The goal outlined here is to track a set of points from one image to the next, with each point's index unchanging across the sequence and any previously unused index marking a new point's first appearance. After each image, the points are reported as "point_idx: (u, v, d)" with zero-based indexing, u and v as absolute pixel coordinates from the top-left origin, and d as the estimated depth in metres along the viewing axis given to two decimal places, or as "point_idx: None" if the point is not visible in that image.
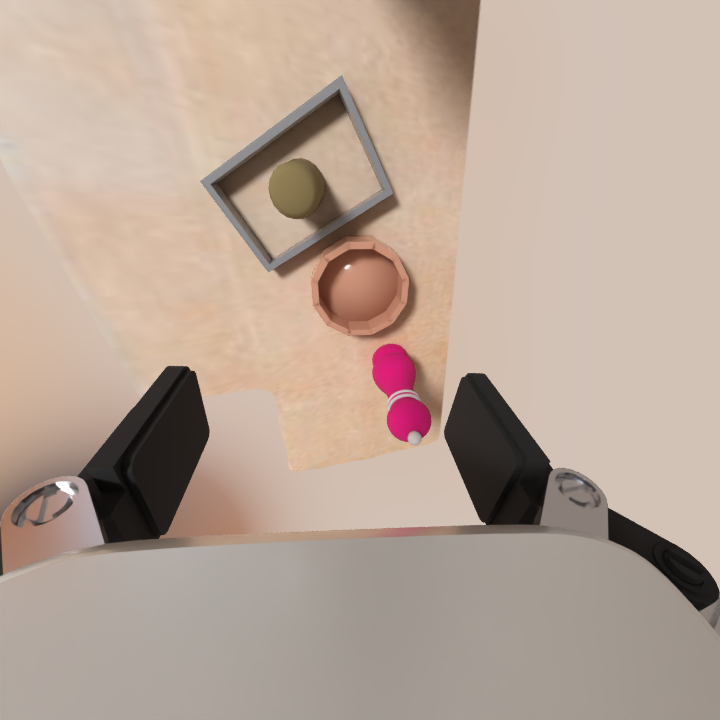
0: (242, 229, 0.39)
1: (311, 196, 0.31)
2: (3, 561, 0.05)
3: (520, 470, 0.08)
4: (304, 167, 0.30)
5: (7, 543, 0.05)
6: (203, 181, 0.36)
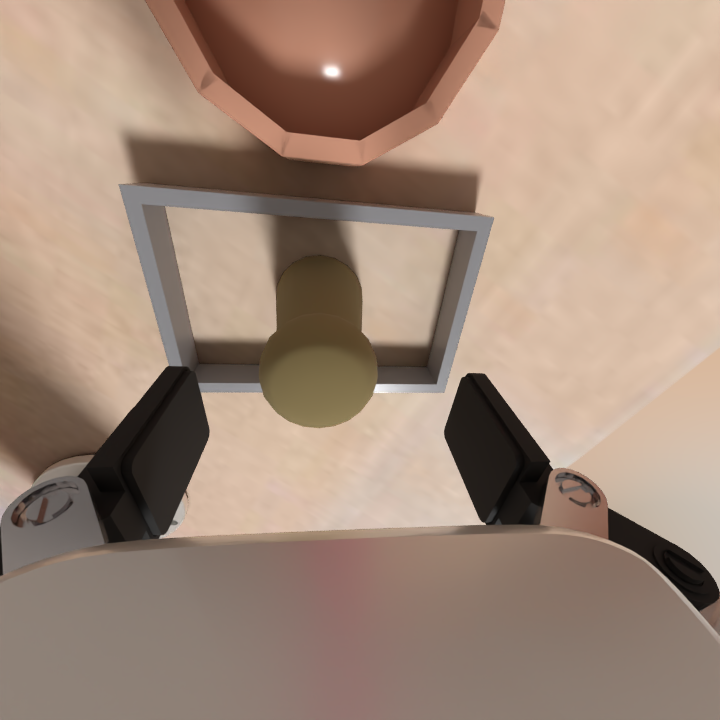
0: (456, 315, 0.20)
1: (284, 368, 0.12)
2: (3, 561, 0.05)
3: (520, 470, 0.08)
4: None
5: (7, 543, 0.05)
6: (441, 391, 0.24)
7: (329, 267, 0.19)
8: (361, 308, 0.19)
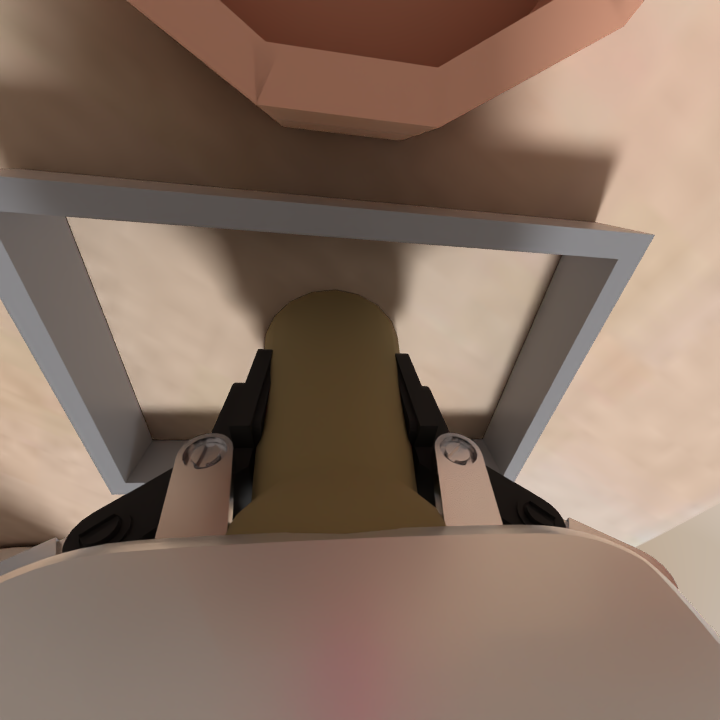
0: (551, 388, 0.13)
1: None
2: (168, 488, 0.06)
3: (414, 435, 0.08)
4: None
5: (174, 474, 0.06)
6: None
7: (350, 315, 0.11)
8: None
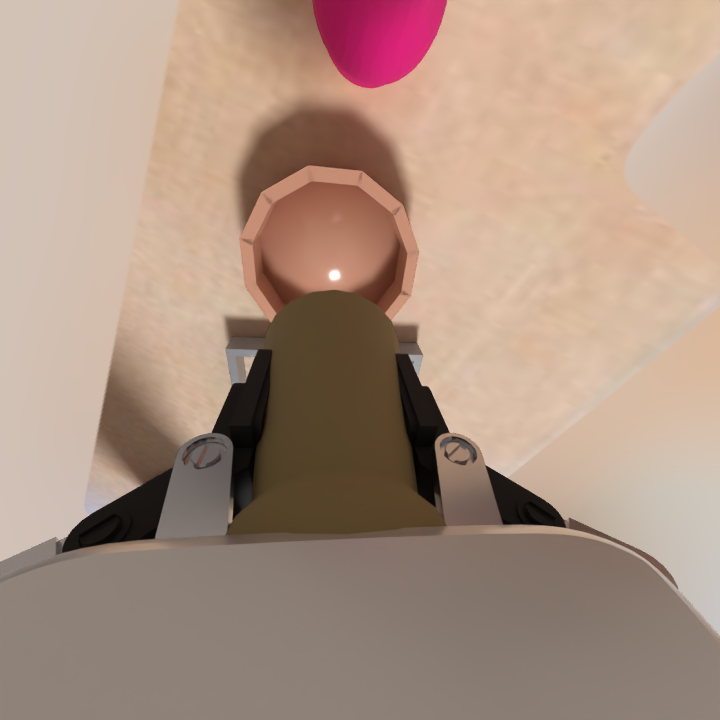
0: None
1: None
2: (168, 488, 0.06)
3: (414, 435, 0.08)
4: None
5: (174, 474, 0.06)
6: None
7: (350, 315, 0.11)
8: None
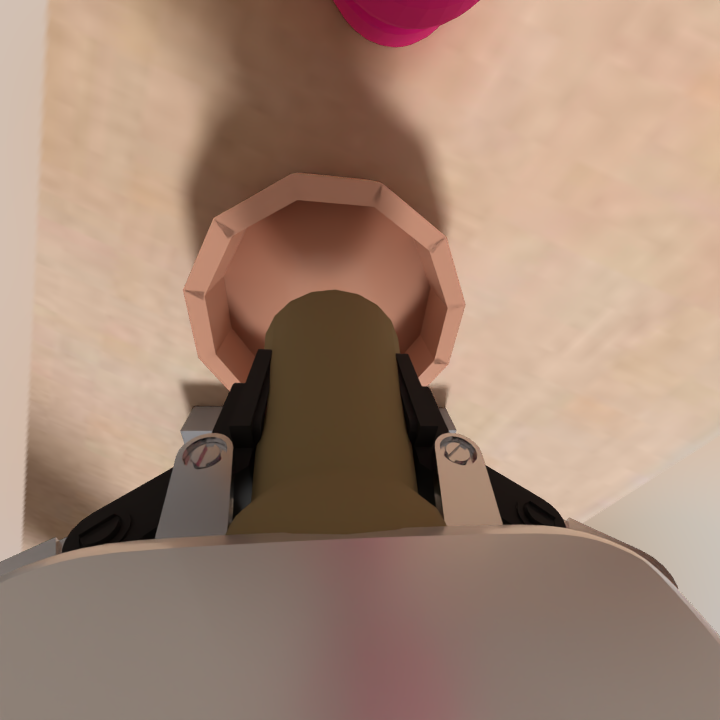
0: None
1: None
2: (168, 488, 0.06)
3: (414, 435, 0.08)
4: None
5: (174, 474, 0.06)
6: None
7: (350, 315, 0.11)
8: None
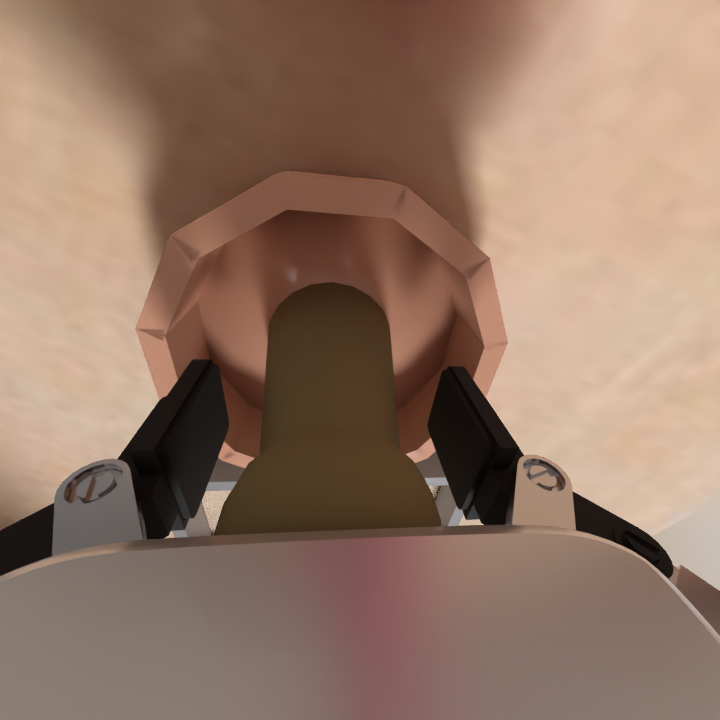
0: None
1: None
2: (53, 533, 0.05)
3: (491, 457, 0.08)
4: None
5: (58, 517, 0.06)
6: None
7: (345, 305, 0.12)
8: None
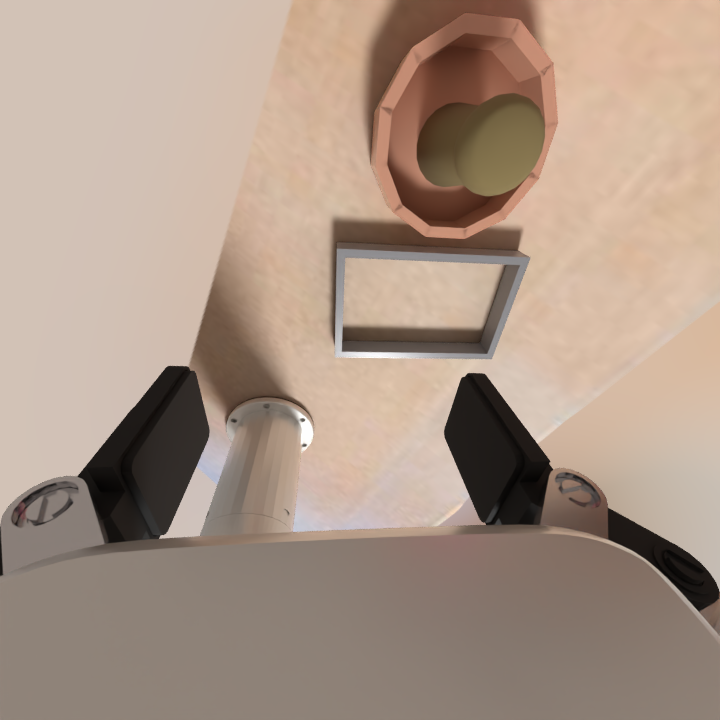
0: (503, 311, 0.34)
1: (493, 122, 0.17)
2: (3, 561, 0.05)
3: (520, 470, 0.08)
4: (463, 170, 0.19)
5: (7, 543, 0.05)
6: (489, 358, 0.38)
7: None
8: None
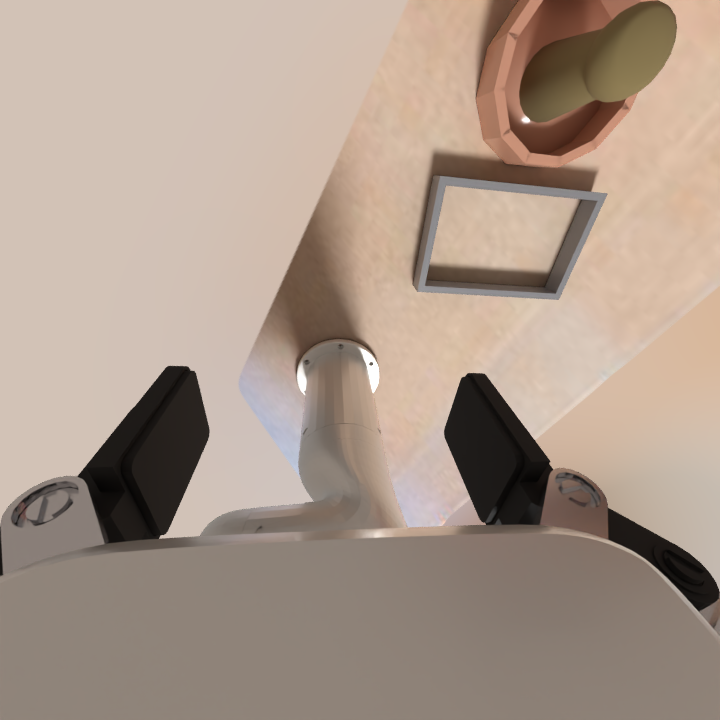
0: (576, 249, 0.37)
1: (638, 21, 0.20)
2: (3, 561, 0.05)
3: (520, 470, 0.08)
4: (600, 71, 0.22)
5: (7, 543, 0.05)
6: (557, 298, 0.41)
7: None
8: None
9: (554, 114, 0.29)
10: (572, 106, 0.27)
